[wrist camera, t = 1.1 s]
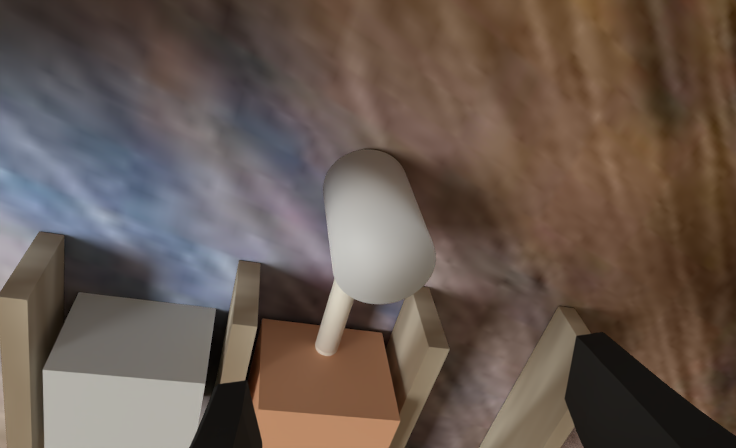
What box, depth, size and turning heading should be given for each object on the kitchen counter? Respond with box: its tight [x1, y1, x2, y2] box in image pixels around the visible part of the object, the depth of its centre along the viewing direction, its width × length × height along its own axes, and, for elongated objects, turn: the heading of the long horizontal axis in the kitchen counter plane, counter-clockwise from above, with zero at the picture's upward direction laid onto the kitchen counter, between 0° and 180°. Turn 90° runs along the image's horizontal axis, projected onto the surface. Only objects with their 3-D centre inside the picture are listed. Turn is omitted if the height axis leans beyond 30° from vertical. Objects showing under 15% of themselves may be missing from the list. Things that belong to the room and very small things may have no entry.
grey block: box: [43, 292, 216, 448], centre depth 22 cm, size 5×5×4 cm
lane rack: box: [0, 232, 591, 448], centre depth 23 cm, size 21×11×5 cm, turn 75°
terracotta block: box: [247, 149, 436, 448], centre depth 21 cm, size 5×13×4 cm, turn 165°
